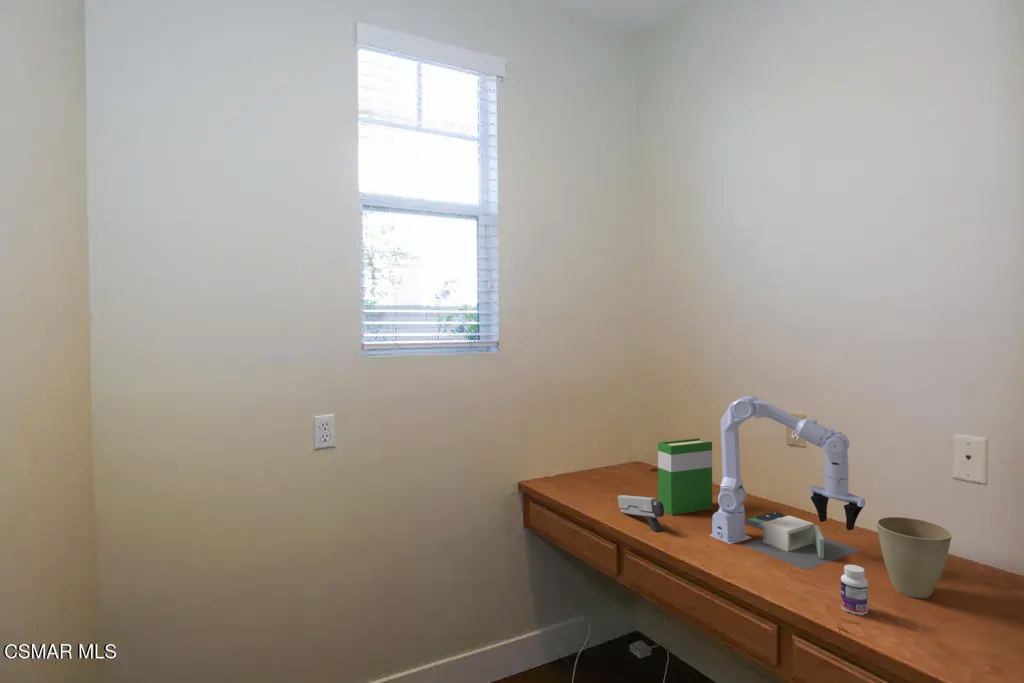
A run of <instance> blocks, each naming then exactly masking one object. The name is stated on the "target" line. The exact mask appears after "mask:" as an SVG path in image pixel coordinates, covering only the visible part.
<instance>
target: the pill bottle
mask: <svg viewBox="0 0 1024 683" xmlns="http://www.w3.org/2000/svg"><path fill="white" fill-rule="evenodd" d="M843 567H844V568H843V573H844V574H842V575H841V577H840V607H841V609H842V610H843V609H844V610H845V612H846V611H847V612H846V613H848V612H850V613H849V614H851V613H852V614H851V615H855V614H858V615H857V616H865V615H867V614H868V612H869V582H868V579H866V577H865V574H866V572H865V568H864V567H862V566H860V565H855V564H845V565H844V566H843ZM844 610H843V611H844ZM866 613H867V614H866ZM859 614H860V615H859ZM864 614H865V615H864Z"/></svg>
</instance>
